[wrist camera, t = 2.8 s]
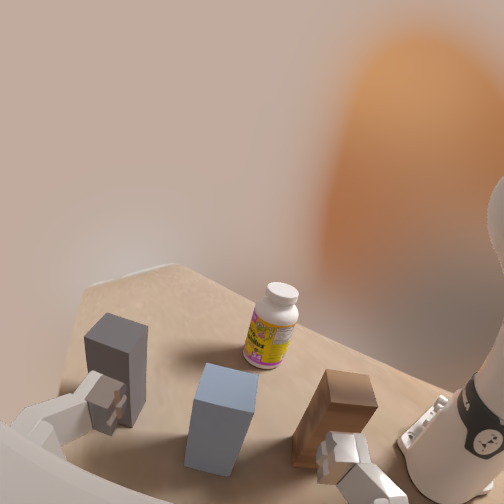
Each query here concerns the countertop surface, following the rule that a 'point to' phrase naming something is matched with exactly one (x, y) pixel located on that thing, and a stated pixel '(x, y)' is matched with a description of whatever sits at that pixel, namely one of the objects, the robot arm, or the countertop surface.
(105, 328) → the charcoal block
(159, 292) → the countertop surface
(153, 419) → the countertop surface
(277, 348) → the supplement bottle
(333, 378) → the walnut block
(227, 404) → the slate-blue block
